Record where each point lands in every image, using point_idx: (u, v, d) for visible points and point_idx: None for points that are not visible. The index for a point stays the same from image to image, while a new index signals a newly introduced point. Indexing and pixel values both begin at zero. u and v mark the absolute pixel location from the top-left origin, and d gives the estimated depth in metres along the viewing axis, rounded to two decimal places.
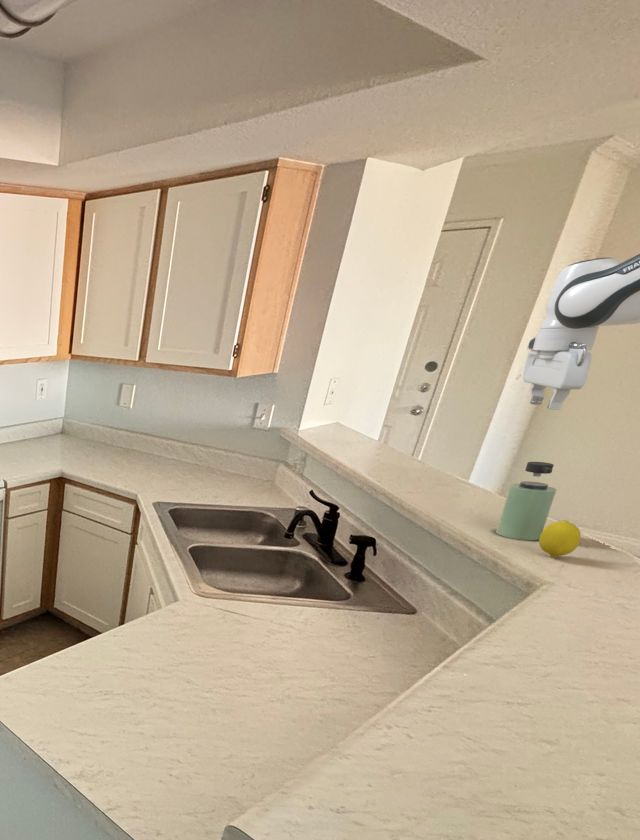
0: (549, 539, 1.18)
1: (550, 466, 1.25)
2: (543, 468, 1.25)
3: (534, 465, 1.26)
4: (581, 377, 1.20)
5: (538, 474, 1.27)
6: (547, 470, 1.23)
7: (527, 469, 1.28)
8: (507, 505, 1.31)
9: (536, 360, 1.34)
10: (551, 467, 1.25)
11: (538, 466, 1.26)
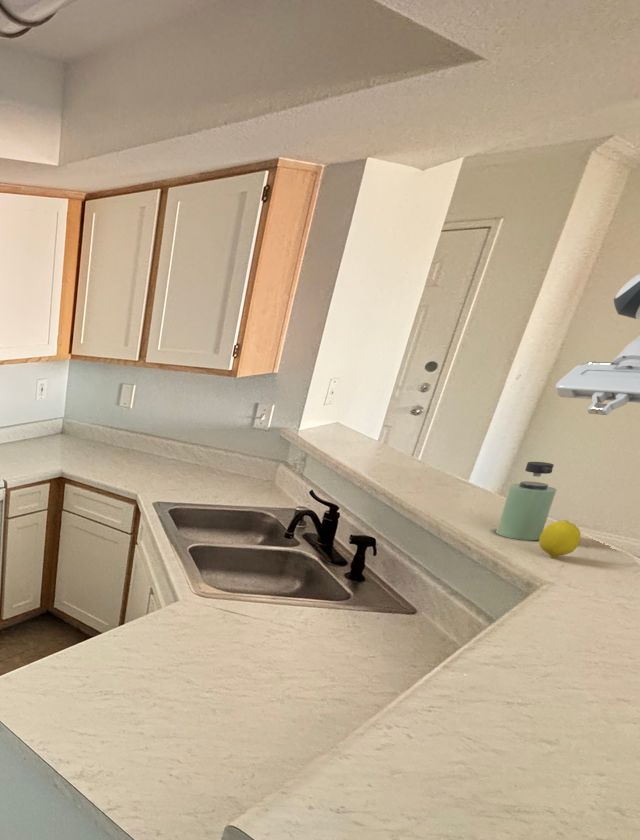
0: (549, 539, 1.18)
1: (550, 466, 1.25)
2: (543, 468, 1.25)
3: (534, 465, 1.26)
4: None
5: (538, 474, 1.27)
6: (547, 470, 1.23)
7: (527, 469, 1.28)
8: (507, 505, 1.31)
9: None
10: (551, 467, 1.25)
11: (538, 466, 1.26)
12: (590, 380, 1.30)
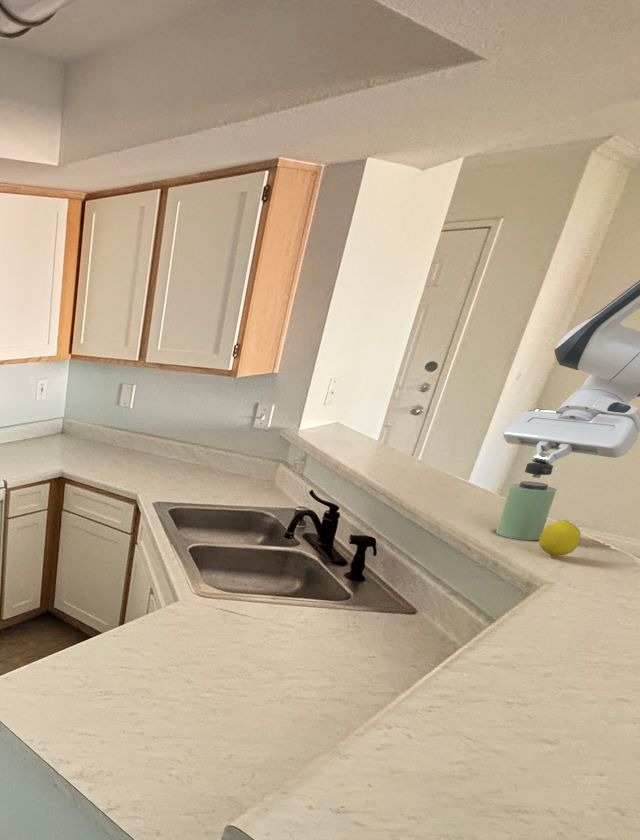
0: (549, 539, 1.18)
1: (550, 467, 1.25)
2: (543, 469, 1.25)
3: (534, 466, 1.26)
4: None
5: (538, 475, 1.27)
6: (547, 471, 1.23)
7: (527, 470, 1.28)
8: (507, 505, 1.31)
9: None
10: (551, 468, 1.25)
11: (538, 467, 1.26)
12: (535, 428, 1.30)
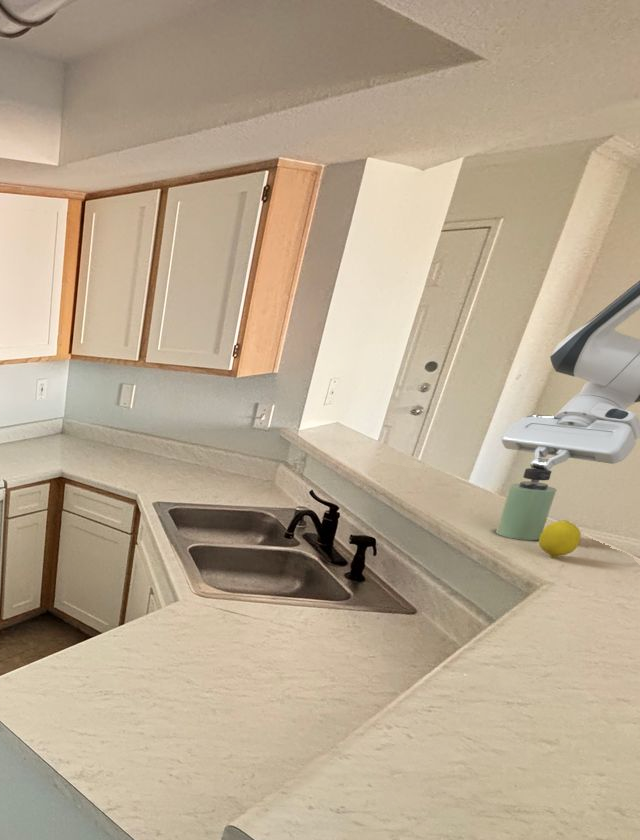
0: (549, 539, 1.18)
1: (548, 473, 1.26)
2: (541, 475, 1.25)
3: (532, 472, 1.27)
4: None
5: (536, 480, 1.28)
6: (545, 477, 1.24)
7: (525, 476, 1.28)
8: (507, 505, 1.31)
9: None
10: (549, 474, 1.26)
11: (536, 473, 1.26)
12: (534, 433, 1.30)
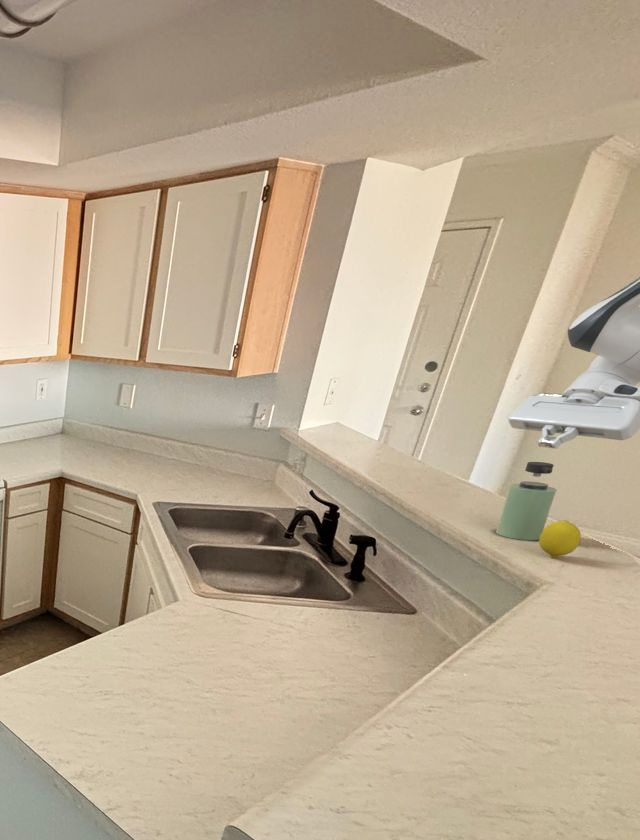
0: (549, 539, 1.18)
1: (550, 466, 1.25)
2: (543, 468, 1.25)
3: (534, 465, 1.26)
4: None
5: (538, 474, 1.27)
6: (547, 470, 1.23)
7: (527, 469, 1.28)
8: (507, 505, 1.31)
9: None
10: (551, 467, 1.25)
11: (538, 466, 1.26)
12: (541, 412, 1.29)
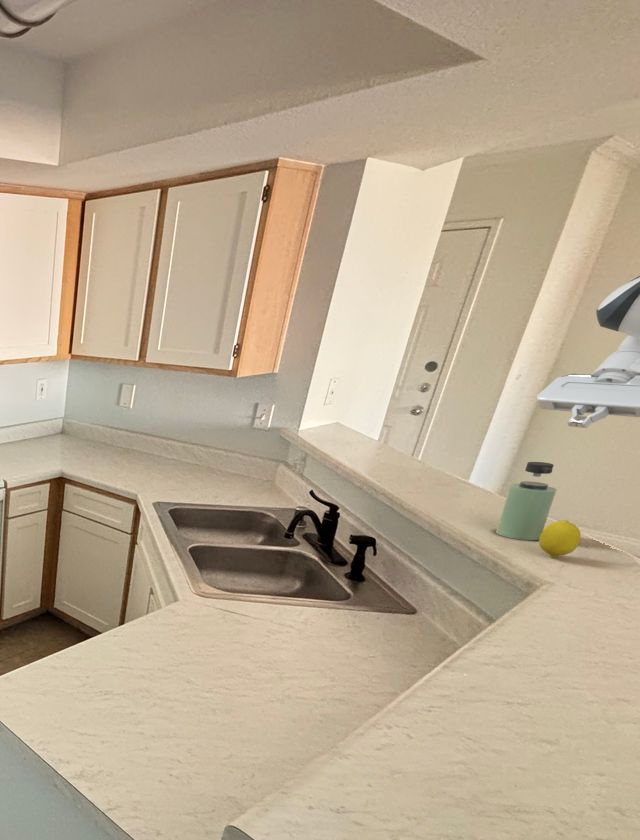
0: (549, 539, 1.18)
1: (550, 466, 1.25)
2: (543, 468, 1.25)
3: (534, 465, 1.26)
4: None
5: (538, 474, 1.27)
6: (547, 470, 1.23)
7: (527, 469, 1.28)
8: (507, 505, 1.31)
9: None
10: (551, 467, 1.25)
11: (538, 466, 1.26)
12: (570, 392, 1.29)
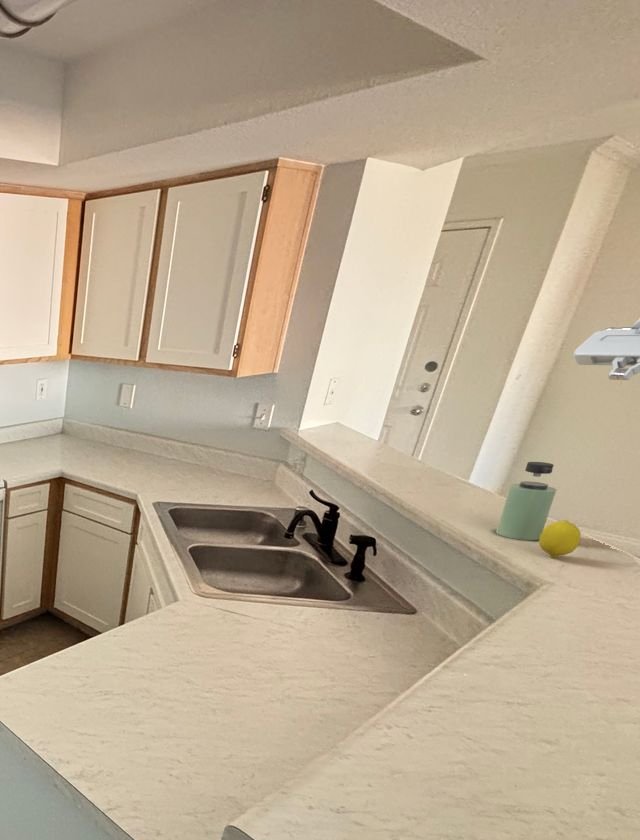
0: (549, 539, 1.18)
1: (550, 466, 1.25)
2: (543, 468, 1.25)
3: (534, 465, 1.26)
4: None
5: (538, 474, 1.27)
6: (547, 470, 1.23)
7: (527, 469, 1.28)
8: (507, 505, 1.31)
9: None
10: (551, 467, 1.25)
11: (538, 466, 1.26)
12: (610, 345, 1.26)
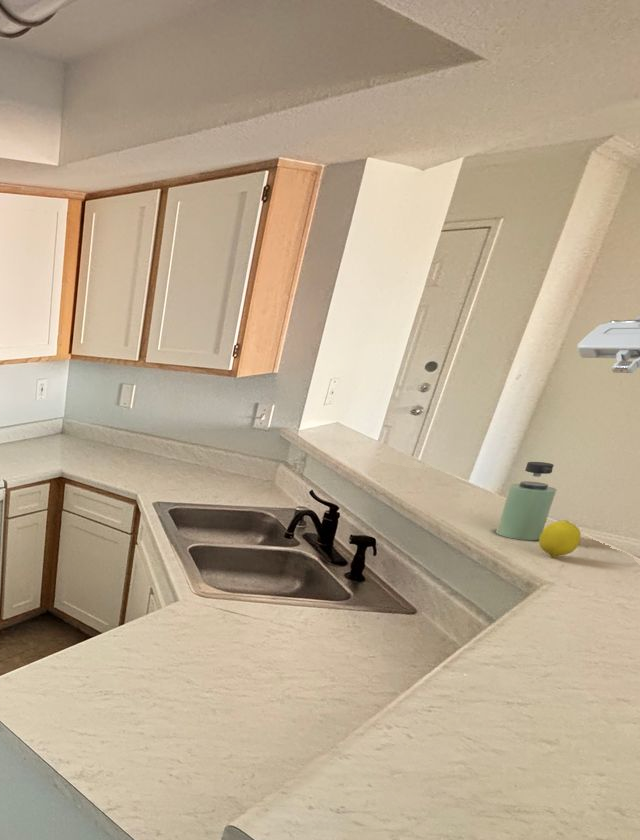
0: (549, 539, 1.18)
1: (550, 466, 1.25)
2: (543, 468, 1.25)
3: (534, 465, 1.26)
4: None
5: (538, 474, 1.27)
6: (547, 470, 1.23)
7: (527, 469, 1.28)
8: (507, 505, 1.31)
9: None
10: (551, 467, 1.25)
11: (538, 466, 1.26)
12: (614, 338, 1.25)
